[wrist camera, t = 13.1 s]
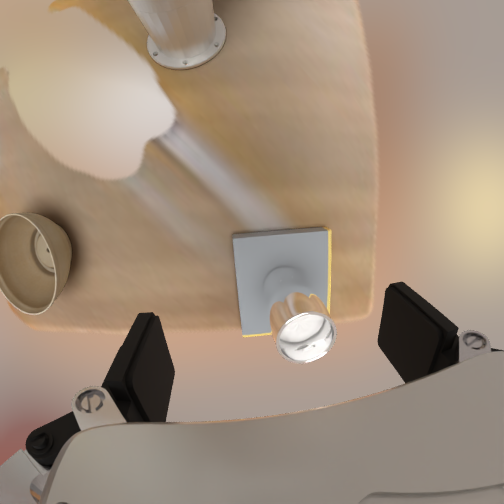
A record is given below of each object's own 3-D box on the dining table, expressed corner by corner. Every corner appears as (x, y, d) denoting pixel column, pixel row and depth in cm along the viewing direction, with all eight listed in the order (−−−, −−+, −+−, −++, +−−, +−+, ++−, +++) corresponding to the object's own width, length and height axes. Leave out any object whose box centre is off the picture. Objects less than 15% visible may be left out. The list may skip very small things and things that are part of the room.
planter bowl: (56, 303, 44) (27, 330, 33) (14, 238, 39) (-21, 253, 29) (104, 259, 42) (73, 283, 32) (56, 185, 38) (17, 191, 27)
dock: (232, 234, 42) (232, 238, 39) (325, 226, 43) (331, 230, 40) (242, 329, 47) (242, 338, 44) (324, 319, 48) (329, 327, 45)
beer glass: (313, 290, 43) (347, 344, 28) (274, 313, 43) (292, 374, 29) (292, 254, 41) (322, 297, 26) (251, 279, 41) (261, 333, 27)
